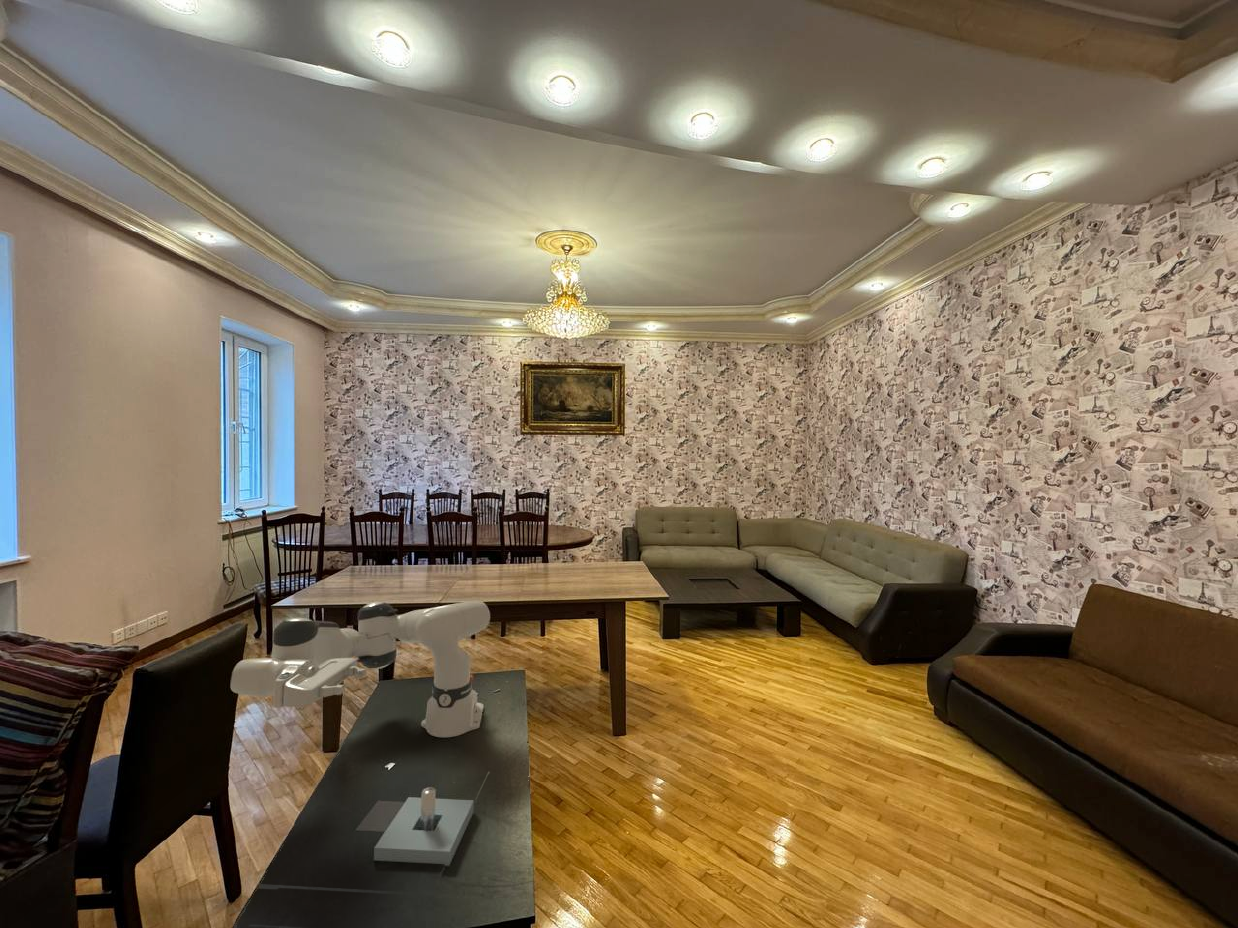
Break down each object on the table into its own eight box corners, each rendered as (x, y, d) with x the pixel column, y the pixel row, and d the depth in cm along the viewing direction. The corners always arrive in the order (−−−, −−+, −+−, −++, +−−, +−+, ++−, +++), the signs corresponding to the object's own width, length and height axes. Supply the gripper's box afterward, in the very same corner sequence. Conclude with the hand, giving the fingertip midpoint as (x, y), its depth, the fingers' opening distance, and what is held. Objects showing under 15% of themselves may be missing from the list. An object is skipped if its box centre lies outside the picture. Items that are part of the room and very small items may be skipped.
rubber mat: (377, 802, 121) (377, 800, 121) (405, 803, 121) (405, 801, 121) (355, 831, 111) (355, 829, 111) (385, 833, 111) (385, 831, 111)
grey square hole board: (408, 809, 119) (408, 796, 119) (473, 812, 119) (473, 800, 119) (373, 861, 103) (374, 847, 103) (448, 865, 103) (449, 851, 103)
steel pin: (423, 830, 112) (424, 786, 113) (436, 831, 112) (437, 787, 113) (417, 840, 109) (419, 795, 110) (430, 840, 109) (432, 795, 110)
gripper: (325, 674, 132) (375, 676, 131) (268, 711, 111) (328, 714, 111) (326, 650, 132) (376, 652, 131) (270, 683, 111) (330, 686, 111)
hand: (354, 681), depth 121 cm, fingers open, 8 cm apart
